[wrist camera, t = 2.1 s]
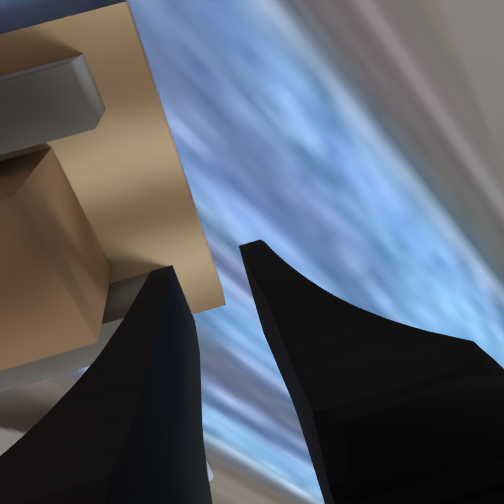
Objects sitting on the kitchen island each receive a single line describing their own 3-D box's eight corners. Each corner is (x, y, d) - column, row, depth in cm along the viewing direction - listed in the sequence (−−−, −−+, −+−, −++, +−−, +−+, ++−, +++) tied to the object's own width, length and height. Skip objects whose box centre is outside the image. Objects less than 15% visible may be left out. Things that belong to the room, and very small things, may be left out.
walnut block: (112, 269, 19) (97, 342, 15) (7, 298, 19) (-37, 381, 15) (51, 147, 16) (12, 197, 12) (-75, 181, 16) (-160, 244, 12)
